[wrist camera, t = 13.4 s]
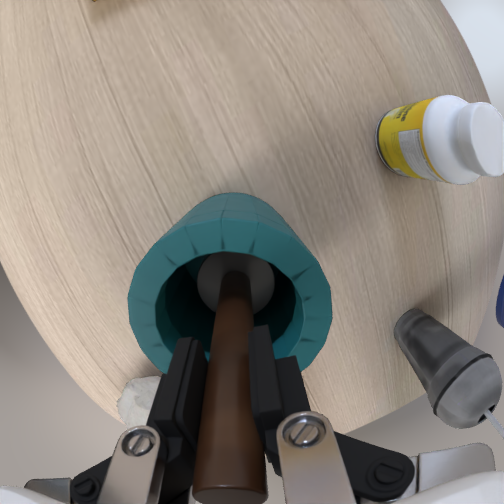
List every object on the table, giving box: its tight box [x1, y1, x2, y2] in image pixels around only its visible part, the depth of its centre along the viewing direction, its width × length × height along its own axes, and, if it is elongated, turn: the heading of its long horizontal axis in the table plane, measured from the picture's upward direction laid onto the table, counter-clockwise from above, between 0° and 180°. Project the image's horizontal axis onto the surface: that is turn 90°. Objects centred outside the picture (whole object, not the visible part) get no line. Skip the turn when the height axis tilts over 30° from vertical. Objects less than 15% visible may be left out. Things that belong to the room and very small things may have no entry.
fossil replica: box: [117, 376, 161, 430], centre depth 25 cm, size 12×8×10 cm
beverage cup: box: [394, 309, 504, 439], centre depth 18 cm, size 7×7×20 cm
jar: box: [128, 193, 333, 374], centre depth 18 cm, size 10×10×12 cm
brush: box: [192, 251, 275, 504], centre depth 13 cm, size 5×5×17 cm
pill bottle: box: [375, 95, 504, 185], centre depth 16 cm, size 6×6×12 cm
